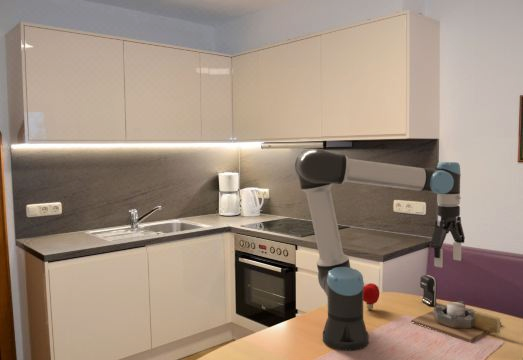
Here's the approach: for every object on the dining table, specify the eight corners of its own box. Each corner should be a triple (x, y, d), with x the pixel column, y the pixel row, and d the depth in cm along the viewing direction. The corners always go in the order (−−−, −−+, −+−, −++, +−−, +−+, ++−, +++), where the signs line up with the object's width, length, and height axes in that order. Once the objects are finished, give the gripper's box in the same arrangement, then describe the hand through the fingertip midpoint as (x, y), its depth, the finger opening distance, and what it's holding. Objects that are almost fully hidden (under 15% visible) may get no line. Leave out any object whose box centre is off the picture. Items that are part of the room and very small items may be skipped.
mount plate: (470, 342, 148) (470, 321, 147) (411, 322, 165) (411, 303, 165) (501, 325, 161) (501, 305, 161) (443, 308, 179) (444, 291, 178)
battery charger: (418, 301, 187) (419, 274, 186) (427, 300, 188) (427, 273, 187) (428, 307, 180) (428, 279, 180) (437, 306, 181) (437, 278, 180)
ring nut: (427, 319, 164) (427, 306, 164) (447, 310, 173) (448, 297, 173) (488, 339, 147) (488, 324, 147) (508, 327, 156) (508, 313, 155)
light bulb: (367, 304, 185) (367, 280, 184) (383, 308, 180) (383, 283, 179) (356, 311, 177) (356, 286, 177) (372, 315, 173) (372, 289, 172)
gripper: (440, 209, 152) (440, 271, 153) (475, 202, 168) (474, 259, 169) (420, 207, 158) (419, 267, 159) (455, 201, 174) (454, 255, 175)
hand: (447, 263), depth 164 cm, fingers open, 13 cm apart
